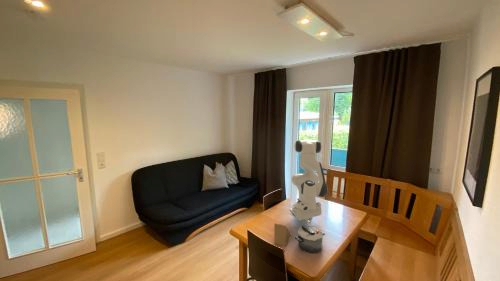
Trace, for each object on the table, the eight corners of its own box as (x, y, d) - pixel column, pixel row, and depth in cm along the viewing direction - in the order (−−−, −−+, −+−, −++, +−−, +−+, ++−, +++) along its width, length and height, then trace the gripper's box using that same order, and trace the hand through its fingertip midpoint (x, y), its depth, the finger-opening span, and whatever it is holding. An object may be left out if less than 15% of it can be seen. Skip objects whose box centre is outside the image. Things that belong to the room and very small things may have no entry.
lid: (293, 231, 149) (293, 227, 149) (311, 225, 156) (311, 222, 156) (309, 244, 134) (309, 239, 134) (328, 237, 141) (329, 233, 141)
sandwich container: (291, 235, 160) (292, 216, 158) (285, 246, 146) (286, 226, 145) (281, 232, 164) (281, 214, 162) (274, 243, 150) (274, 223, 149)
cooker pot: (290, 243, 149) (290, 232, 148) (314, 236, 158) (314, 225, 157) (305, 257, 135) (305, 244, 134) (330, 248, 144) (330, 236, 143)
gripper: (317, 200, 152) (316, 218, 154) (294, 205, 143) (293, 224, 145) (324, 203, 146) (323, 222, 148) (300, 209, 138) (299, 228, 139)
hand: (308, 223), depth 147 cm, fingers closed
